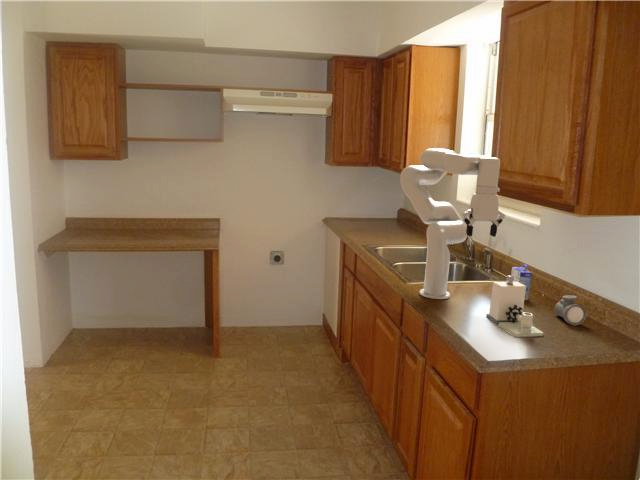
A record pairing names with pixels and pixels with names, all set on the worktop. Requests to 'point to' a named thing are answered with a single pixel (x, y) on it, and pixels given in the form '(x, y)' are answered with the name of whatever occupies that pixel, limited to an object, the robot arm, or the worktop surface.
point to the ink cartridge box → (522, 277)
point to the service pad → (515, 329)
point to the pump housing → (506, 299)
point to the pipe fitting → (570, 310)
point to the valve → (521, 319)
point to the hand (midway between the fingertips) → (481, 235)
